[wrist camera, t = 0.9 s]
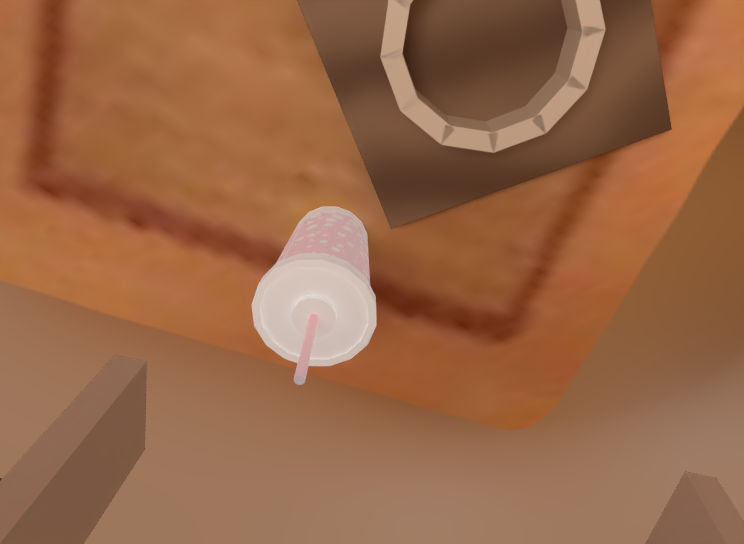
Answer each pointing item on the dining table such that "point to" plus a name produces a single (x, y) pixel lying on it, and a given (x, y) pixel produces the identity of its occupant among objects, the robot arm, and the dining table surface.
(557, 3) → the holder
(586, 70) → the ring
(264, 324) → the beverage cup
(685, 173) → the dining table surface
